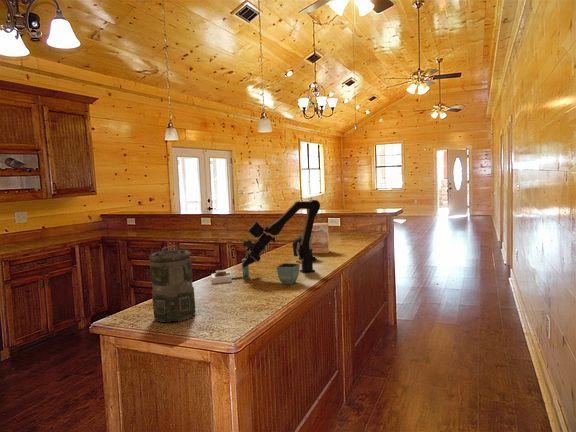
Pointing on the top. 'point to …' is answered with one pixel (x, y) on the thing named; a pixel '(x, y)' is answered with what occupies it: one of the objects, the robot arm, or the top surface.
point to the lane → (221, 278)
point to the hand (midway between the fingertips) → (242, 265)
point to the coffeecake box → (320, 238)
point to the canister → (172, 285)
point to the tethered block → (245, 276)
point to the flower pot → (288, 273)
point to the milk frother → (299, 243)
